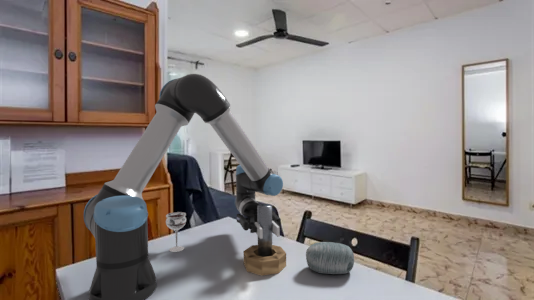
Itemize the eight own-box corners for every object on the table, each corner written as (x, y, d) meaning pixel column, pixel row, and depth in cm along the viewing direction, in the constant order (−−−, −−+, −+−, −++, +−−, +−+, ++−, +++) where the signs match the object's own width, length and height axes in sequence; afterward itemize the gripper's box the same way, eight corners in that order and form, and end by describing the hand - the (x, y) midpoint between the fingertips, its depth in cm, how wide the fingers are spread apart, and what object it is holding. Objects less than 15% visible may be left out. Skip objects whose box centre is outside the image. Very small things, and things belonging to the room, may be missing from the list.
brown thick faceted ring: (249, 277, 79) (249, 263, 78) (241, 258, 90) (241, 246, 90) (290, 271, 82) (290, 258, 82) (277, 254, 94) (277, 242, 93)
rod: (259, 261, 83) (259, 208, 82) (256, 255, 88) (255, 204, 87) (274, 259, 85) (273, 206, 84) (269, 253, 89) (269, 203, 88)
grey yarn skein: (355, 253, 86) (348, 230, 82) (359, 282, 78) (351, 257, 74) (311, 258, 90) (302, 236, 86) (311, 286, 82) (301, 263, 78)
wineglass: (168, 245, 101) (168, 212, 100) (188, 244, 102) (187, 211, 101) (164, 253, 94) (163, 218, 94) (185, 252, 95) (184, 217, 94)
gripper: (274, 218, 105) (298, 242, 83) (227, 223, 101) (239, 249, 78) (274, 198, 105) (298, 217, 83) (227, 202, 100) (239, 222, 78)
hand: (269, 232), depth 80 cm, fingers closed on rod, 4 cm apart
